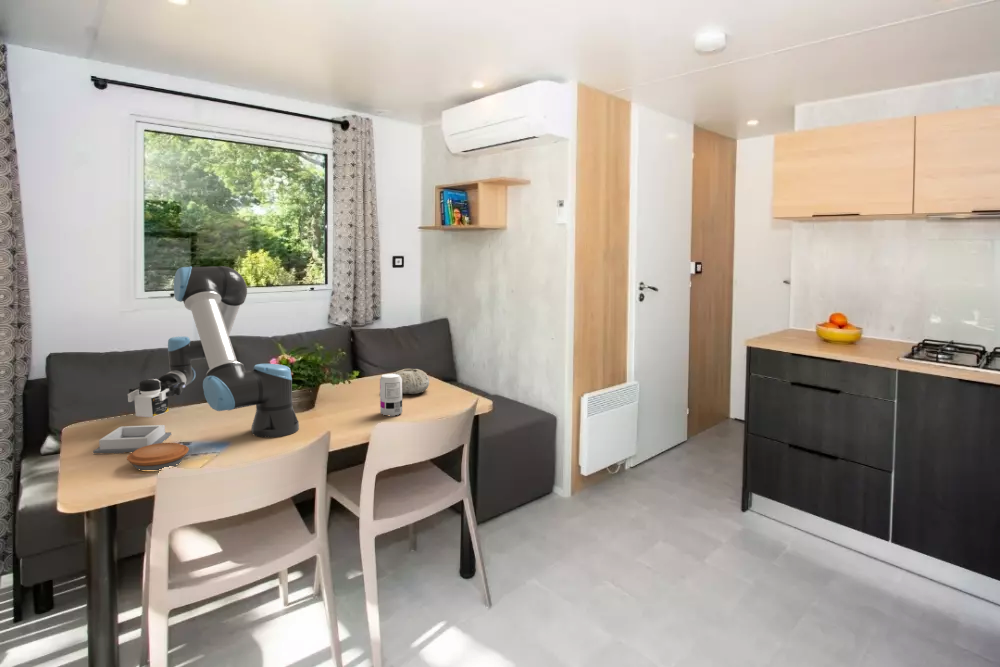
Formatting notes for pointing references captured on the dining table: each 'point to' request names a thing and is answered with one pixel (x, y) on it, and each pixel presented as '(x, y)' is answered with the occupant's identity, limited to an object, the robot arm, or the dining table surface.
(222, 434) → the dining table surface
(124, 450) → the dock
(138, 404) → the medicine bottle
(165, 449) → the pie
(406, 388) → the grey squat round piece
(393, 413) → the supplement can
